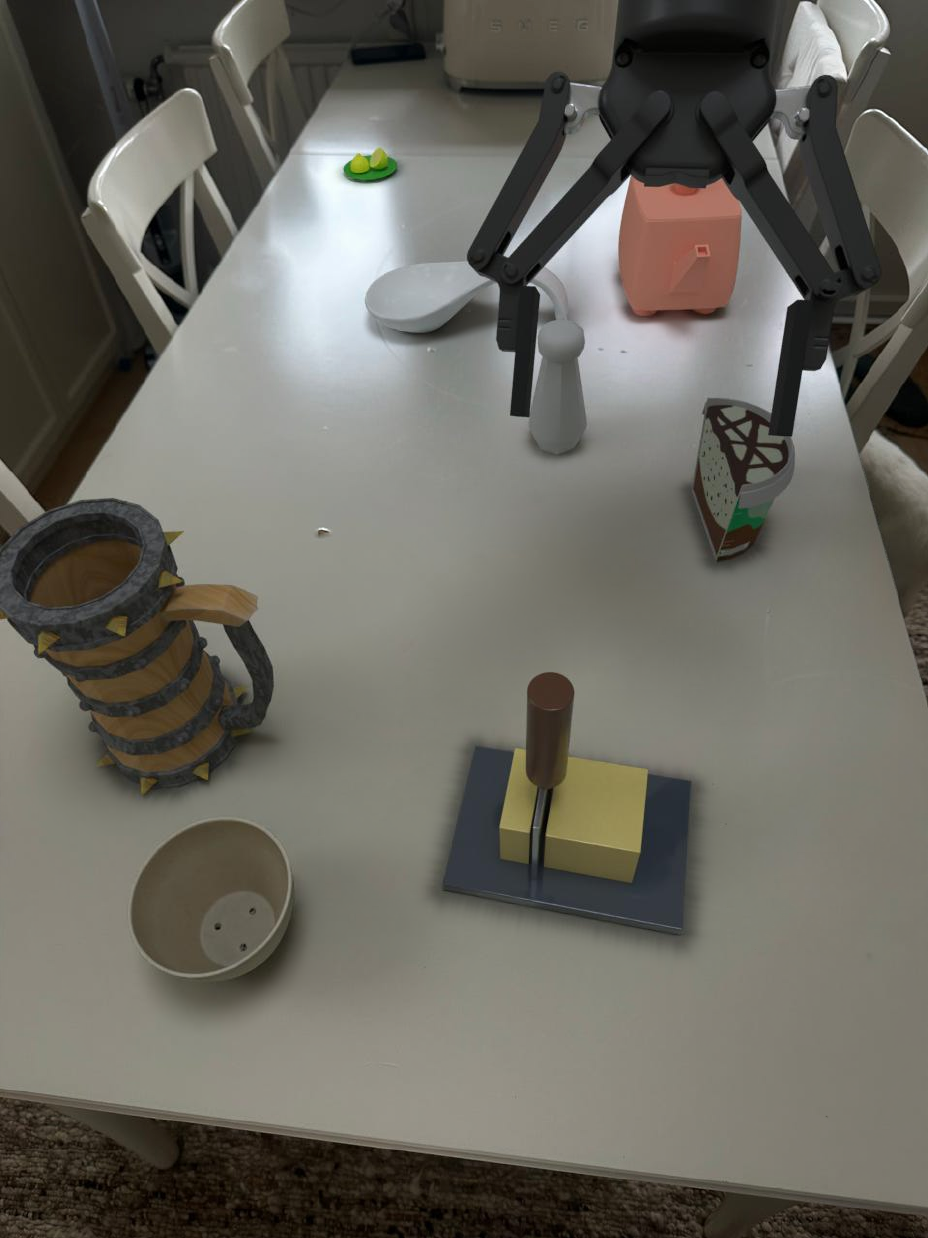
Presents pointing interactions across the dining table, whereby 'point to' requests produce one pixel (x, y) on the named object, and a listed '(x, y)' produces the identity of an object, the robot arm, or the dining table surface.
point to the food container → (738, 473)
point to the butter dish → (568, 888)
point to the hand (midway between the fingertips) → (646, 426)
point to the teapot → (679, 247)
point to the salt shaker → (559, 388)
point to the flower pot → (212, 900)
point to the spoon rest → (440, 294)
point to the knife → (547, 745)
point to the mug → (134, 638)
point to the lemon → (370, 166)
